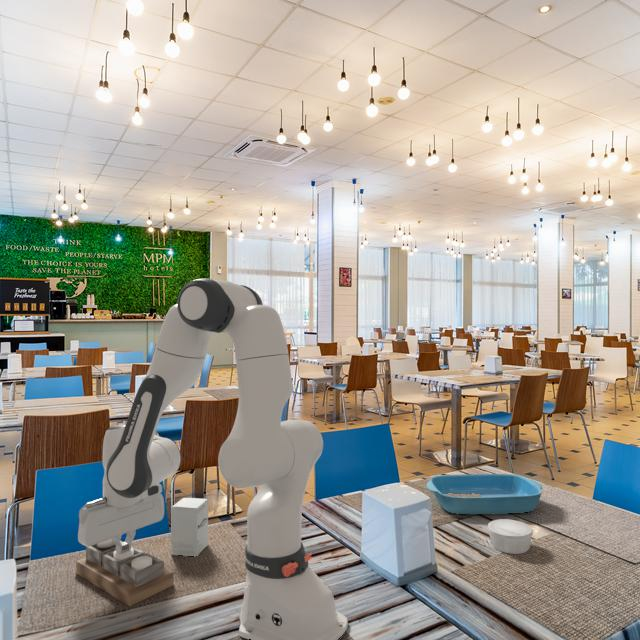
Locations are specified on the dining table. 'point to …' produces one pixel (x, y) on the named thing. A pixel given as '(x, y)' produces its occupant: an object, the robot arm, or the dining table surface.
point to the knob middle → (123, 554)
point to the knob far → (105, 544)
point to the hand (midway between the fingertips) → (123, 551)
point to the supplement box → (189, 526)
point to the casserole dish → (486, 493)
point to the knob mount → (123, 574)
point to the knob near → (141, 562)
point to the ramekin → (510, 536)
